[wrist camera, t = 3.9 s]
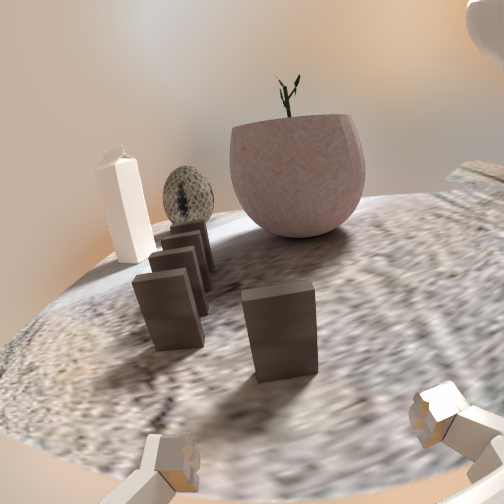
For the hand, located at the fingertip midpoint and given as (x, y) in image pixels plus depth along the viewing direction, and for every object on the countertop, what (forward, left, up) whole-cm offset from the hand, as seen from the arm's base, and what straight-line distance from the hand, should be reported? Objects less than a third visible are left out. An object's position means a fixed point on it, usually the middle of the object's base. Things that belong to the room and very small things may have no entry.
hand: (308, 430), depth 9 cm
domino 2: (+10, -31, -9) cm, 33 cm away
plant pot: (-9, -48, -9) cm, 49 cm away
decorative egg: (+14, -63, -9) cm, 65 cm away
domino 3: (+10, -25, -9) cm, 28 cm away
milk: (+24, -49, -9) cm, 55 cm away
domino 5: (0, -13, -9) cm, 15 cm away
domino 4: (+10, -19, -9) cm, 23 cm away
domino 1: (+10, -37, -9) cm, 39 cm away
